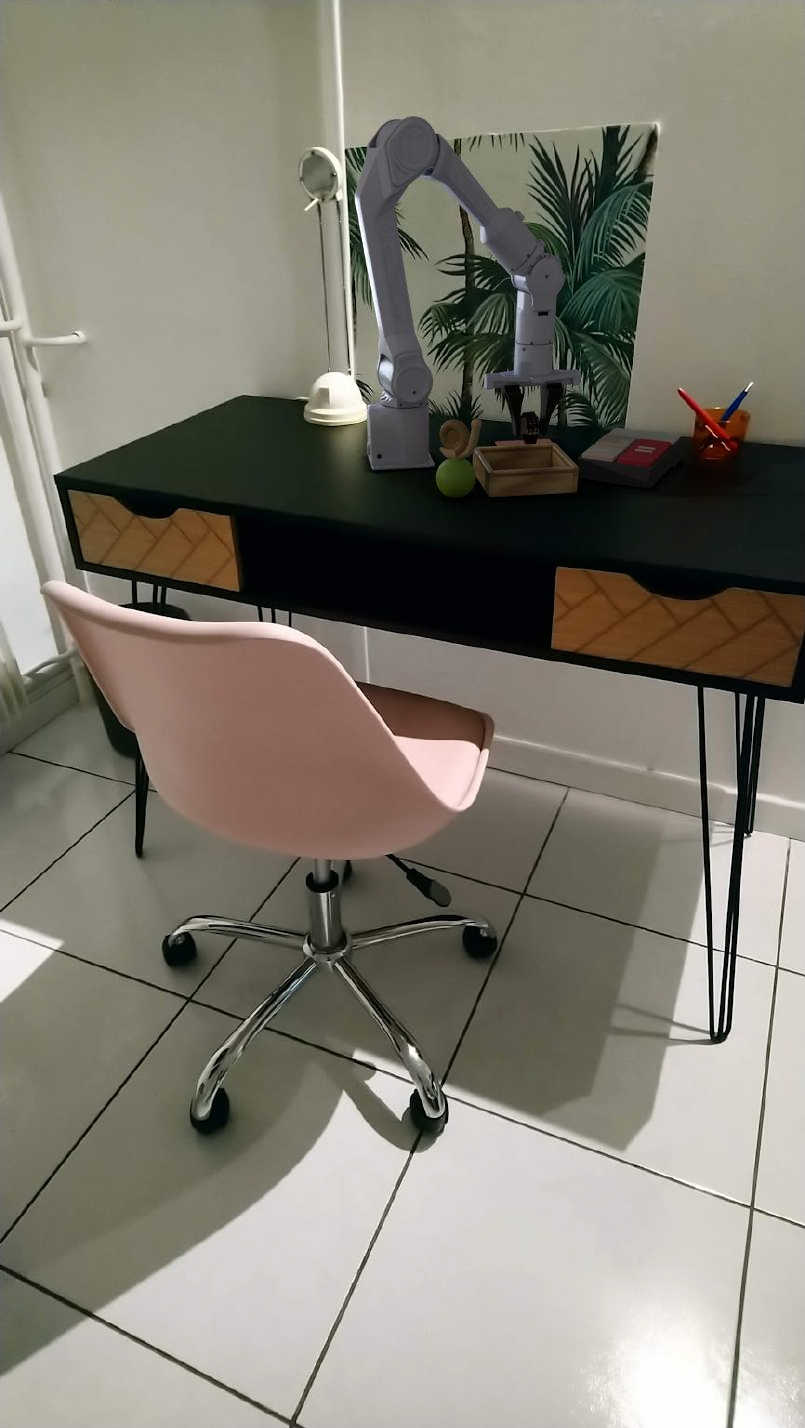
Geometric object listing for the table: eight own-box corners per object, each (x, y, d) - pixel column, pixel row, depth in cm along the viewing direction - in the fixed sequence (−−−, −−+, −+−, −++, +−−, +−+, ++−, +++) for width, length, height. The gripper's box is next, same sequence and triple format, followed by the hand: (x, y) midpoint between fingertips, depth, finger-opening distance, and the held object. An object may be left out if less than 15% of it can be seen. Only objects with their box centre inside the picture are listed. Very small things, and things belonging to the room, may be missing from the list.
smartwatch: (543, 439, 142) (543, 407, 140) (538, 449, 138) (538, 416, 136) (518, 440, 144) (517, 408, 141) (512, 449, 140) (511, 417, 137)
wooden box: (488, 497, 122) (489, 472, 120) (472, 470, 133) (472, 447, 131) (577, 492, 123) (579, 467, 121) (554, 466, 134) (555, 442, 132)
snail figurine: (469, 507, 119) (471, 415, 113) (428, 499, 122) (428, 409, 116) (488, 495, 123) (491, 406, 116) (448, 488, 126) (448, 400, 119)
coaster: (506, 459, 137) (506, 457, 137) (494, 443, 145) (495, 441, 145) (563, 456, 138) (563, 453, 138) (549, 441, 146) (549, 438, 145)
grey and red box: (576, 452, 126) (613, 423, 137) (574, 482, 129) (611, 451, 139) (652, 463, 122) (685, 431, 132) (649, 493, 124) (681, 460, 134)
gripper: (491, 348, 129) (488, 443, 136) (589, 344, 130) (581, 438, 137) (482, 340, 135) (480, 431, 142) (576, 336, 136) (569, 427, 143)
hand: (529, 434), depth 140 cm, fingers closed on smartwatch, 3 cm apart
